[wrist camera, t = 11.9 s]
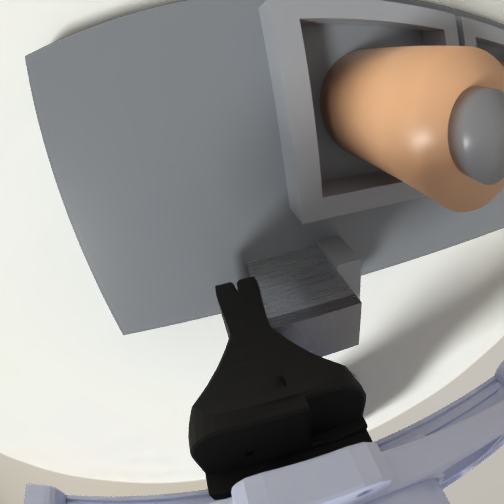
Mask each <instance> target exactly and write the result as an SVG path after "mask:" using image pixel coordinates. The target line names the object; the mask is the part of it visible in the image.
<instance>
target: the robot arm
mask: <svg viewBox="0 0 504 504" xmlns="http://www.w3.org/2000/svg"><path fill="white" fill-rule="evenodd" d="M237 289H238V291H237ZM237 289H236V288H235V286H234V284H233V283H231V282H229V283H225V284H221V285H217V286H215V290H216V296H217V300H218V303H219V307H220V310H221V313H222V317H223V320H224V323H225V327H226V330H227V333H228V337H229V340H228V343H227V346H226V349H225V351H224V354H223V356H222V358H221V361H220V363H219V365H218V367H217V369H216V371H215V373H214V374H213V376H212V378H211V380H210V381H209V383H208V385H207V386H206V388H205V390H204V391H203V392H202V394H201V395H200V397H199V398H198V399H197V401H196V402H195V404H194V405H193V406H192V410H191V415H190V421H189V446H190V453H191V456H192V458H193V459H194V460H195V461H196V463H197V464H198V465H199V466H200V467H201V468H202V470H203V471H204V472H205V473H206V479H207V486H208V489H206V490H199V491H192V492H184V493H175V494H163V495H149V496H127V497H126V496H124V497H100V496H99V497H98V496H75V495H65V494H64V493H63V492H62V491H60V490H59V489H57V488H54V487H52V486H47V485H37V484H30V483H28V484H26V490H25V499H24V504H450V503H449V501H448V499H447V497H446V496H445V494H444V492H443V490H442V489H444V488H445V487H447V486H448V485H450V484H451V483H453V482H454V481H456V480H457V479H459V478H460V477H462V476H463V475H465V474H466V473H467V472H469V471H470V470H472V469H473V468H474V467H476V466H477V465H478V464H480V463H481V462H482V461H484V460H485V459H486V458H488V457H489V456H490V455H491V454H493V453H494V452H495V451H496V450H497V449H499V448H500V447H501V446H502V445H504V361H503V362H502V363H501V364H500V366H499V367H498V369H497V370H496V373H495V376H493V377H492V378H490V379H489V380H487V381H486V382H484V383H483V384H482V385H480V386H478V387H477V388H475V389H474V390H472V391H471V392H469V393H467V394H466V395H464V396H463V397H461V398H459V399H458V400H456V401H454V402H453V403H451V404H449V405H447V406H446V407H444V408H442V409H440V410H439V411H437V412H435V413H433V414H431V415H430V416H428V417H426V418H424V419H422V420H420V421H418V422H416V423H414V424H412V425H410V426H408V427H406V428H404V429H402V430H400V431H398V432H396V433H393V434H391V435H389V436H387V437H385V438H382V439H380V440H378V441H375V442H372V440H371V438H370V436H369V434H368V432H367V430H366V429H367V424H366V422H365V420H364V418H363V412H364V407H365V402H366V394H365V392H364V390H363V388H362V386H361V385H360V383H359V382H358V380H357V378H356V376H354V375H353V374H352V373H351V372H350V371H349V370H348V369H347V368H346V367H345V366H344V365H341V364H338V363H336V362H333V361H330V360H327V359H324V358H322V357H320V356H318V355H315V354H313V353H311V352H309V351H307V350H306V349H304V348H302V347H300V346H298V345H297V344H295V343H293V342H291V341H290V340H288V339H287V338H285V337H284V336H282V335H281V334H280V333H278V332H277V331H276V330H274V329H273V328H272V327H271V326H269V323H268V320H267V317H266V313H265V309H264V305H263V300H262V296H261V292H260V288H259V285H258V283H257V280H256V279H255V277H249V278H245V279H241V280H238V282H237Z"/></svg>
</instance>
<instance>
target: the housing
mask: <svg viewBox="0 0 504 504" xmlns="http://www.w3.org/2000/svg"><path fill="white" fill-rule="evenodd" d="M401 46H473V47H477V48H480V49H482V50H485V51H487V52H488V53H490V54H491V55H492V56H494V57H495V58H496V59H497V60H498V61H504V25H502V24H499V23H496V22H493V21H491V20H488V19H485V18H482V17H479V16H476V15H473V14H469V13H466V12H463V11H459V10H456V9H452V8H448V7H444V6H440V5H436V4H432V3H427V2H423V1H418V0H185V1H180V2H176V3H171V4H167V5H162V6H158V7H154V8H150V9H146V10H143V11H139V12H135V13H132V14H128V15H125V16H122V17H119V18H116V19H112V20H109V21H107V22H104V23H101V24H98V25H95V26H92V27H90V28H87V29H84V30H82V31H79V32H77V33H74V34H72V35H69V36H67V37H65V38H62V39H60V40H58V41H56V42H53V43H51V44H49V45H47V46H45V47H43V48H41V49H38V50H36V51H34V52H32V53H30V54H28V55H27V56H25V59H26V65H27V71H28V76H29V82H30V87H31V91H32V96H33V101H34V105H35V109H36V114H37V118H38V122H39V126H40V130H41V133H42V137H43V141H44V144H45V148H46V151H47V155H48V158H49V161H50V164H51V168H52V171H53V174H54V177H55V180H56V183H57V186H58V189H59V192H60V195H61V197H62V200H63V203H64V206H65V208H66V211H67V214H68V216H69V219H70V222H71V224H72V227H73V229H74V232H75V234H76V237H77V239H78V242H79V244H80V246H81V249H82V251H83V253H84V256H85V258H86V260H87V263H88V265H89V267H90V269H91V271H92V274H93V276H94V278H95V280H96V282H97V284H98V286H99V289H100V291H101V293H102V295H103V297H104V299H105V301H106V303H107V305H108V307H109V309H110V311H111V313H112V315H113V317H114V318H115V320H116V322H117V324H118V326H119V328H120V330H121V332H122V333H123V335H127V334H131V333H136V332H141V331H146V330H151V329H155V328H160V327H164V326H169V325H173V324H178V323H182V322H187V321H191V320H195V319H200V318H204V317H208V316H212V315H217V314H221V310H220V307H219V303H218V300H217V296H216V290H215V286H217V285H221V284H225V283H229V282H231V283H233V284H234V286H235V288H236V289H237V282H238V280H241V279H245V278H249V277H250V274H249V269H248V264H247V263H249V262H253V261H257V260H261V259H265V258H269V257H273V256H277V255H281V254H285V253H289V252H293V251H297V250H301V249H305V248H309V247H313V246H317V245H318V247H319V248H320V249H321V250H322V252H323V253H324V254H325V256H326V257H327V258H328V259H329V261H330V262H331V263H332V264H333V266H334V267H335V268H336V270H337V271H338V272H339V273H340V275H341V276H342V277H343V279H344V280H345V281H346V283H347V284H348V285H349V287H350V288H351V289H352V291H353V292H354V293H355V295H356V296H357V297H358V298H359V300H360V279H361V275H364V274H368V273H371V272H374V271H378V270H381V269H384V268H387V267H390V266H394V265H397V264H400V263H403V262H406V261H409V260H412V259H416V258H419V257H422V256H425V255H428V254H431V253H434V252H437V251H440V250H443V249H446V248H449V247H451V246H454V245H457V244H460V243H463V242H466V241H469V240H472V239H474V238H477V237H480V236H483V235H485V234H488V233H491V232H494V231H496V230H499V229H502V228H504V186H503V188H502V189H501V190H500V192H499V193H498V194H497V195H496V196H495V197H494V198H493V199H492V200H491V201H490V202H489V203H487V204H486V205H484V206H483V207H481V208H479V209H477V210H474V211H470V212H455V211H452V210H449V209H447V208H446V207H444V206H443V205H441V204H439V203H438V202H436V201H435V200H433V199H431V198H430V197H428V196H426V195H425V194H423V193H421V192H420V191H418V190H416V189H415V188H413V187H411V186H410V185H408V184H406V183H404V182H403V181H401V180H399V179H397V178H396V177H394V176H392V175H390V174H388V173H387V172H385V171H383V170H381V169H379V168H377V167H376V166H374V165H372V164H370V163H368V162H366V161H364V160H362V159H360V158H358V157H356V156H354V155H352V154H350V153H348V152H347V151H345V150H344V149H342V148H341V147H340V146H339V145H338V144H337V143H336V142H335V141H334V140H333V139H332V137H331V136H330V134H329V133H328V131H327V129H326V127H325V125H324V122H323V119H322V115H321V109H320V93H321V87H322V84H323V81H324V78H325V76H326V74H327V72H328V71H329V69H330V68H331V66H332V65H333V64H334V63H335V62H336V61H337V60H338V59H339V58H341V57H342V56H344V55H345V54H348V53H350V52H353V51H356V50H363V49H373V48H386V47H401ZM237 291H238V289H237Z"/></svg>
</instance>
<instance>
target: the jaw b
mask: <svg viewBox="0 0 504 504" xmlns="http://www.w3.org/2000/svg"><path fill="white" fill-rule="evenodd" d="M320 109H321V115H322V119H323V122H324V125H325V127H326V129H327V131H328V133H329V134H330V136H331V137H332V139H333V140H334V141H335V142H336V143H337V144H338V145H339V146H340V147H341V148H342V149H344V150H345V151H347V152H348V153H350V154H352V155H354V156H356V157H358V158H360V159H362V160H364V161H366V162H368V163H370V164H372V165H374V166H376V167H377V168H379V169H381V170H383V171H385V172H387V173H388V174H390V175H392V176H394V177H396V178H397V179H399V180H401V181H403V182H404V183H406V184H408V185H410V186H411V187H413V188H415V189H416V190H418V191H420V192H421V193H423V194H425V195H426V196H428V197H430V198H431V199H433V200H435V201H436V202H438V203H439V204H441V205H443V206H444V207H446V208H447V209H449V210H452V211H455V212H470V211H474V210H477V209H479V208H481V207H483V206H484V205H486V204H487V203H489V202H490V201H491V200H492V199H493V198H494V197H495V196H496V195H497V194H498V193H499V192H500V190H501V189H502V188H503V186H504V67H503V66H502V65H501V63H500V62H499V61H498V60H497V59H496V58H495V57H494V56H492V55H491V54H490V53H488V52H487V51H485V50H482V49H480V48H477V47H473V46H401V47H386V48H373V49H363V50H356V51H353V52H350V53H348V54H345V55H344V56H342V57H341V58H339V59H338V60H337V61H336V62H335V63H334V64H333V65H332V66H331V68H330V69H329V71H328V72H327V74H326V76H325V78H324V81H323V84H322V87H321V93H320Z"/></svg>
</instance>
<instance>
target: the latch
mask: <svg viewBox="0 0 504 504" xmlns="http://www.w3.org/2000/svg"><path fill="white" fill-rule="evenodd" d="M247 264H248V269H249V274H250V277H255V279H256V280H257V283H258V285H259V288H260V292H261V296H262V300H263V305H264V309H265V313H266V317H267V320H268V323H269V326H271V327H272V328H273V329H274V330H276V331H277V332H278V333H280V334H281V335H282V336H284V337H285V338H287V339H288V340H290V341H291V342H293V343H295V344H297V345H298V346H300V347H302V348H304V349H306V350H307V351H309V352H311V353H313V354H315V355H318V356H320V357H322V356H326V355H329V354H332V353H335V352H338V351H341V350H344V349H347V348H350V347H353V346H355V345H358V344H359V332H360V319H361V304H362V303H361V301H360V300H359V298H358V297H357V296H356V295H355V293H354V292H353V291H352V289H351V288H350V287H349V285H348V284H347V283H346V281H345V280H344V279H343V277H342V276H341V275H340V273H339V272H338V271H337V270H336V268H335V267H334V266H333V264H332V263H331V262H330V261H329V259H328V258H327V257H326V256H325V254H324V253H323V252H322V250H321V249H320V248H319V247H318V245H317V246H313V247H309V248H305V249H301V250H297V251H293V252H289V253H285V254H281V255H277V256H273V257H269V258H265V259H261V260H257V261H253V262H249V263H247Z"/></svg>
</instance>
